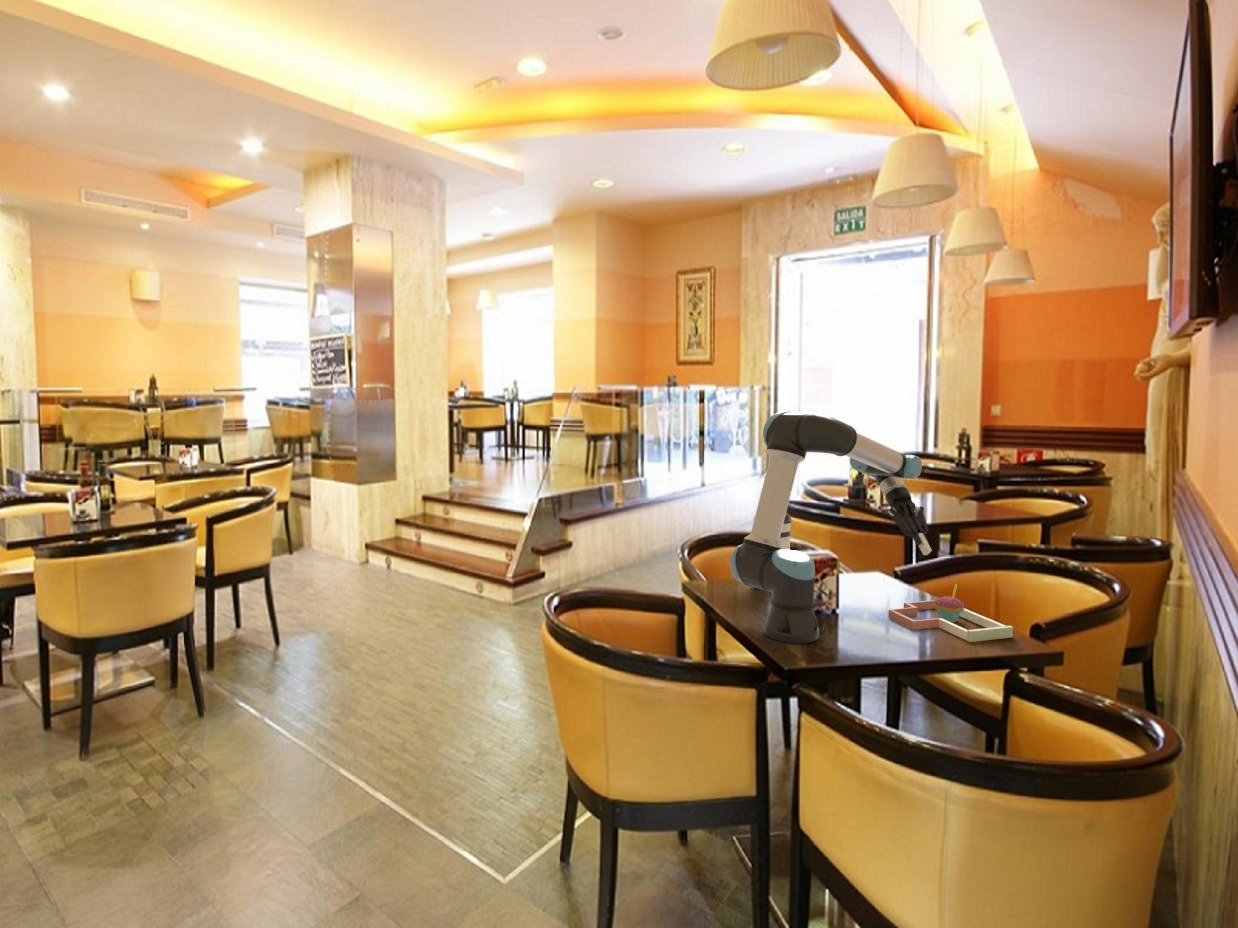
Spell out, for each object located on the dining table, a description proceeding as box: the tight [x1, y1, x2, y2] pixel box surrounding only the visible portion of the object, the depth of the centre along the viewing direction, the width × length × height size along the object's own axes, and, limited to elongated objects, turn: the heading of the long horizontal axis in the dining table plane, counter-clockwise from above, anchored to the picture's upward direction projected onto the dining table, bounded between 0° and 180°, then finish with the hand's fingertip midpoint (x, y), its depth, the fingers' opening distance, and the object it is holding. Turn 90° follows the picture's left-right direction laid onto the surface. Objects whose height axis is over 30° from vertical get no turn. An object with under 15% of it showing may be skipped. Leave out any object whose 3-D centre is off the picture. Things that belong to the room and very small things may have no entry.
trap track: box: [887, 599, 1014, 643], centre depth 205 cm, size 23×28×3 cm
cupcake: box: [933, 581, 965, 623], centre depth 209 cm, size 9×8×12 cm
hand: (927, 552), depth 218 cm, fingers closed
